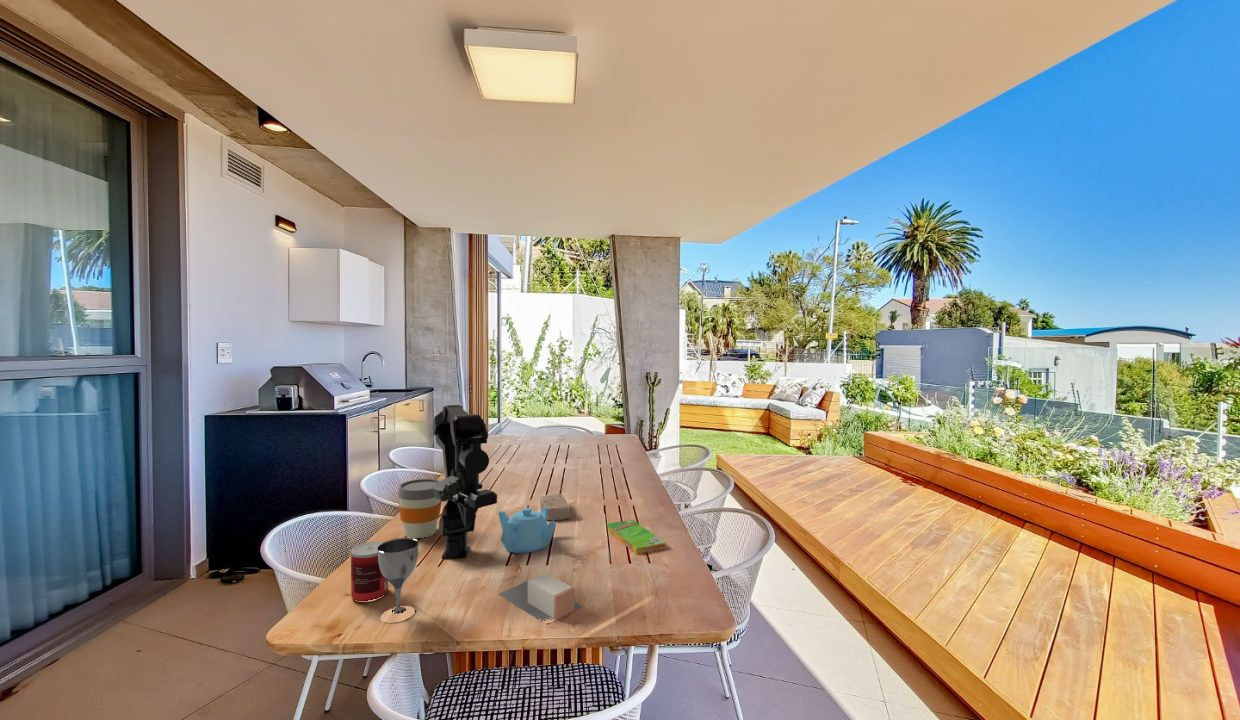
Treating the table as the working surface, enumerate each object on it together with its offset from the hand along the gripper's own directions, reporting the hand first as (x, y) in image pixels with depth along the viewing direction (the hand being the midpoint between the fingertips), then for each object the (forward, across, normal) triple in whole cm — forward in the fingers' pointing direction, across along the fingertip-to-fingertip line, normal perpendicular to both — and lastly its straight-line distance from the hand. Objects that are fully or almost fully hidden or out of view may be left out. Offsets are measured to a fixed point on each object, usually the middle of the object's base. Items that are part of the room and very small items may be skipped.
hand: (467, 526), depth 124 cm
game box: (+13, +16, +46) cm, 51 cm away
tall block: (+9, +24, +4) cm, 26 cm away
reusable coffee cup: (+12, -34, +4) cm, 36 cm away
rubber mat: (+12, +24, +4) cm, 28 cm away
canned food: (+12, -6, -21) cm, 25 cm away
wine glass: (+12, +7, -20) cm, 24 cm away
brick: (+13, -19, +44) cm, 50 cm away
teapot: (+12, -3, +21) cm, 25 cm away
